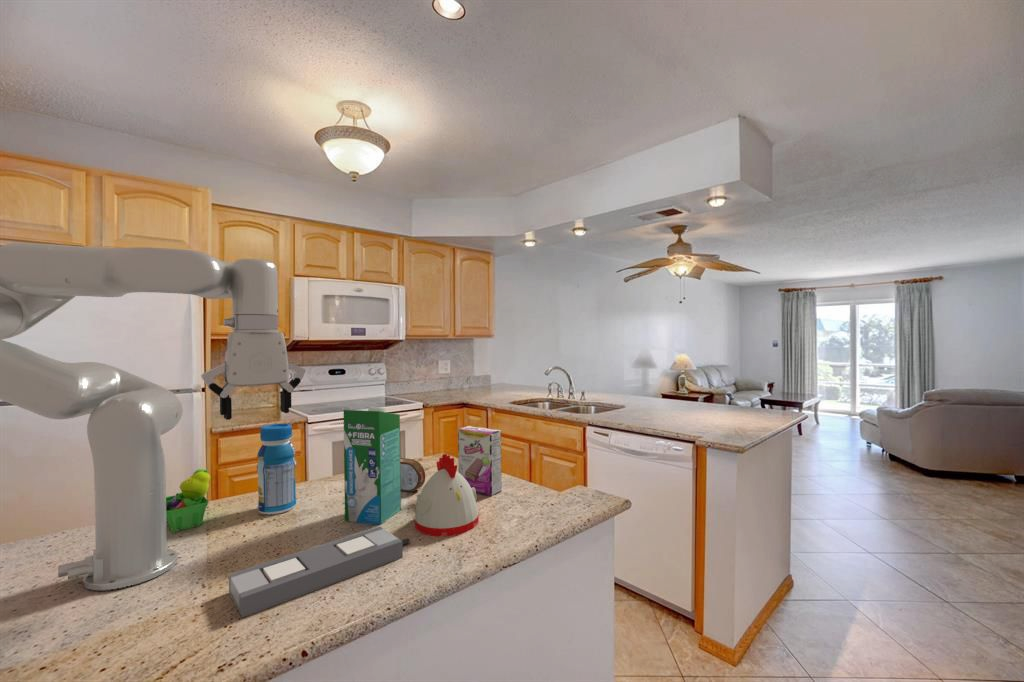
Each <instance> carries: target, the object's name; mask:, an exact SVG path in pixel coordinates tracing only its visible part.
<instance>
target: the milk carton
mask: <svg viewBox="0 0 1024 682" xmlns="http://www.w3.org/2000/svg"><path fill="white" fill-rule="evenodd" d="M400 416H401V415H400V414H398V413H391V412H387V411H386V407H381V406H380V407H378V406H377V407H376V406H368V409H367V410H360V409H359V410H357V409H343V467H344V468H343V470H344V471H343V473H344V474H343V476H344V479H343V481H344V521H345V522H350V523H351V522H352V523H360V524H369V525H370V524H371V525H378V526H381V525H382V524H383V523H384V522H386V521H388V520H389V519H390V518H391V517H393V516H394V515H395V514H397V513H398V512H399V511H401V510H402V498H401V497H402V496H401V495H402V491H401V476H400V458H401V430H400V429H401V417H400Z"/></svg>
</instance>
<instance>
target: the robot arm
mask: <svg viewBox="0 0 1024 682" xmlns="http://www.w3.org/2000/svg"><path fill="white" fill-rule="evenodd" d="M278 274H279V273H278V269H277V266H276V264H275V263H273V262H272V261H270V260H265V259H259V258H241V259H237V260H235V261H234V262H228V261H223V260H221V259H218V258H216V257H214V256H213V255H211V254H208V253H206V252H204V251H203V252H202V251H199V250H191V249H182V248H181V249H178V248H166V247H165V248H164V247H152V246H151V247H146V246H138V247H137V246H136V247H133V246H132V247H131V246H129V247H100V246H98V247H97V246H78V245H66V244H54V243H53V244H52V243H36V242H35V243H34V242H14V243H12V242H11V243H7V244H6V243H5V244H1V245H0V401H2V402H3V401H4V402H6V403H7V404H11V405H13V406H16V407H18V408H21V409H24V410H27V411H29V412H31V413H34V414H35V415H38V416H41V417H44V418H48V419H51V420H60V421H61V420H68V419H73V418H75V419H76V418H79V417H82V416H86V415H89V418H88V421H87V424H86V434H87V440H88V443H89V447H90V453H91V456H92V464H93V466H92V467H93V484H94V485H93V486H94V488H93V489H94V520H95V521H94V525H95V526H94V527H95V529H94V530H95V531H94V532H95V535H94V537H95V549H93V551H92V553H93V554H92V555H88V556H85V557H84V559H82V560H77V561H71V562H67V563H62V564H59V565H58V566H57V567H58V568H57V574H58V575H57V576H58V577H57V578H63V577H66V576H67V580H70V579H74V578H78V577H81V576H83V579H82V580H83V582H82V583H83V587H85V588H86V589H87V590H90V589H91V591H112V590H111V589H113V590H117V588H119V589H123V588H122V587H124V588H127V587H126V586H128V587H132V586H135V585H140V584H142V583H144V582H148V581H149V580H152V579H154V578H157V577H159V576H160V575H163V574H164V573H166V572H167V571H169V570H170V569H172V568H173V567H174V566H175V565H176V564H177V562H178V560H179V559H178V557H179V556H178V552H177V551H176V550H175V549H172V548H168V545H167V544H168V543H167V541H168V536H167V532H168V531H167V527H168V526H167V520H166V497H167V483H166V482H167V480H166V479H167V475H166V474H167V473H166V459H165V454H164V449H163V446H162V445H163V444H162V441H161V436H162V435H164V434H166V433H168V432H169V431H171V430H173V429H174V428H175V427H176V426H177V425H178V424H179V422H180V421H181V418H182V416H183V412H184V411H183V410H184V409H183V404H182V402H181V400H180V398H179V397H178V396H177V395H176V394H175V393H174V392H173V391H171V390H169V389H167V388H166V387H163V386H162V385H159V384H156V383H154V382H152V381H150V380H147V379H144V378H142V377H139V376H137V375H135V374H133V373H130V372H128V371H126V370H123V369H121V368H118V367H116V366H112V365H110V364H106V363H102V362H97V361H96V362H95V361H88V362H87V361H85V362H84V361H83V362H82V361H81V362H65V361H61V360H57V359H54V358H52V357H48V356H46V355H44V354H41V353H38V352H35V351H33V350H32V349H29V348H27V347H25V346H22V345H19V344H16V343H13V342H11V341H6V340H7V339H11V338H14V337H16V336H19V335H21V334H23V333H25V332H27V331H28V330H30V329H31V328H32V327H34V326H36V325H37V324H38V323H40V322H41V321H43V320H45V318H47V317H49V316H50V315H52V314H53V313H54V312H56V311H57V310H59V309H60V308H62V307H63V306H65V305H67V303H69V302H70V301H72V300H73V299H74V298H75V297H97V298H98V297H101V298H120V297H123V296H124V295H125V296H126V294H131V293H159V294H161V293H162V294H182V295H191V296H192V295H193V296H198V297H200V298H204V299H208V300H223V299H231V300H232V301H231V303H232V304H231V305H232V306H231V307H232V308H231V309H232V315H231V317H228V318H223V323H222V324H223V326H224V327H229V328H231V330H232V332H228V335H227V340H226V345H225V353H224V355H225V356H224V363H222V364H220V365H217V366H215V367H214V368H212V369H209V370H207V371H206V372H203V373H202V374H201V375H200V376H201V379H202V380H203V382H204V383H205V385H206V387H207V389H209V390H210V391H211V392H212V393H214V394H216V395H217V396H218V397H219V411H220V412H219V415H220V416H223V418H224V419H225V420H226V421H227V420H228V421H230V420H231V419H233V418H232V417H233V415H232V414H233V413H232V410H233V407H232V403H233V402H232V397H230V394H231V393H232V392H233V391H234V389H236V387H239V388H240V387H253V386H254V387H255V386H268V385H272V386H273V385H277V386H279V388H281V390H282V391H280V393H279V395H280V397H279V398H280V399H279V401H280V402H279V404H280V405H279V406H280V412H282V413H284V414H289V413H290V409H291V408H292V392H294V390H295V389H296V388H297V387H298V385H299V384H301V381H302V379H303V377H304V375H305V373H306V369H305V368H303V367H301V366H299V365H297V364H293V363H291V362H290V361H288V360H289V358H288V352H287V344H286V339H285V335H284V332H279V299H278V298H279V296H278V294H279V293H278V292H279V290H278V288H279V287H278V286H279V284H278V280H279V279H278V278H279V277H278ZM289 371H292V372H293V373H294V376H293V378H292V379H290V381H288V380H289V378H290V377H289ZM222 373H223V376H224V382H225V384H224V385H223V386H222V387H220V385H218V384H217V383H216V382H215V380H214V378H215V377H216V376H218V375H221V374H222ZM131 585H132V586H131Z"/></svg>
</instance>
